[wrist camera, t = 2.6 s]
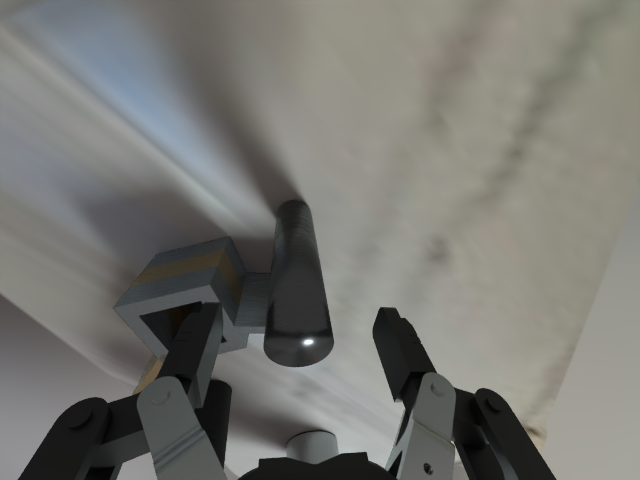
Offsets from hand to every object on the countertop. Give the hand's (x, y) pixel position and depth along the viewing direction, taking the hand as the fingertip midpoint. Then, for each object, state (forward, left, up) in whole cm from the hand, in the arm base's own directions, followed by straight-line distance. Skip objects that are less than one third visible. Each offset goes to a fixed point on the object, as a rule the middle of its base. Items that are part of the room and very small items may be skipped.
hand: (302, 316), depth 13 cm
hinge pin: (0, 0, -12) cm, 12 cm away
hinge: (-6, +9, -12) cm, 17 cm away
